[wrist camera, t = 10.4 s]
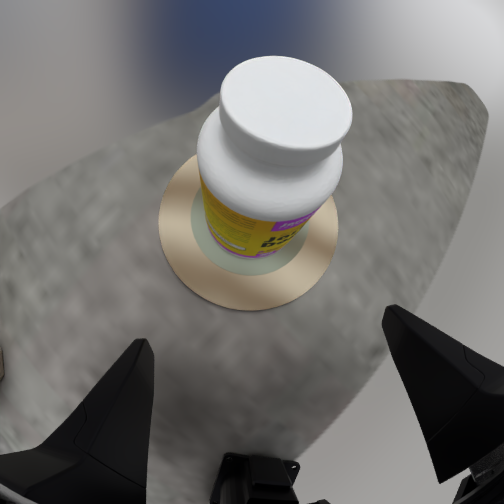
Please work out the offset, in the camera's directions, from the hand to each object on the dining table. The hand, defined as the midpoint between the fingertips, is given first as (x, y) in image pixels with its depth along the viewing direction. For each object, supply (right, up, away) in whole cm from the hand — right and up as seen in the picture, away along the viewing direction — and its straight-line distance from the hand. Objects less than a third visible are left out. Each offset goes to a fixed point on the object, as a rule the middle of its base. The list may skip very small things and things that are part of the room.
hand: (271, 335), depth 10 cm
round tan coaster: (-1, +5, +13) cm, 14 cm away
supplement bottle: (-1, +6, +11) cm, 13 cm away
